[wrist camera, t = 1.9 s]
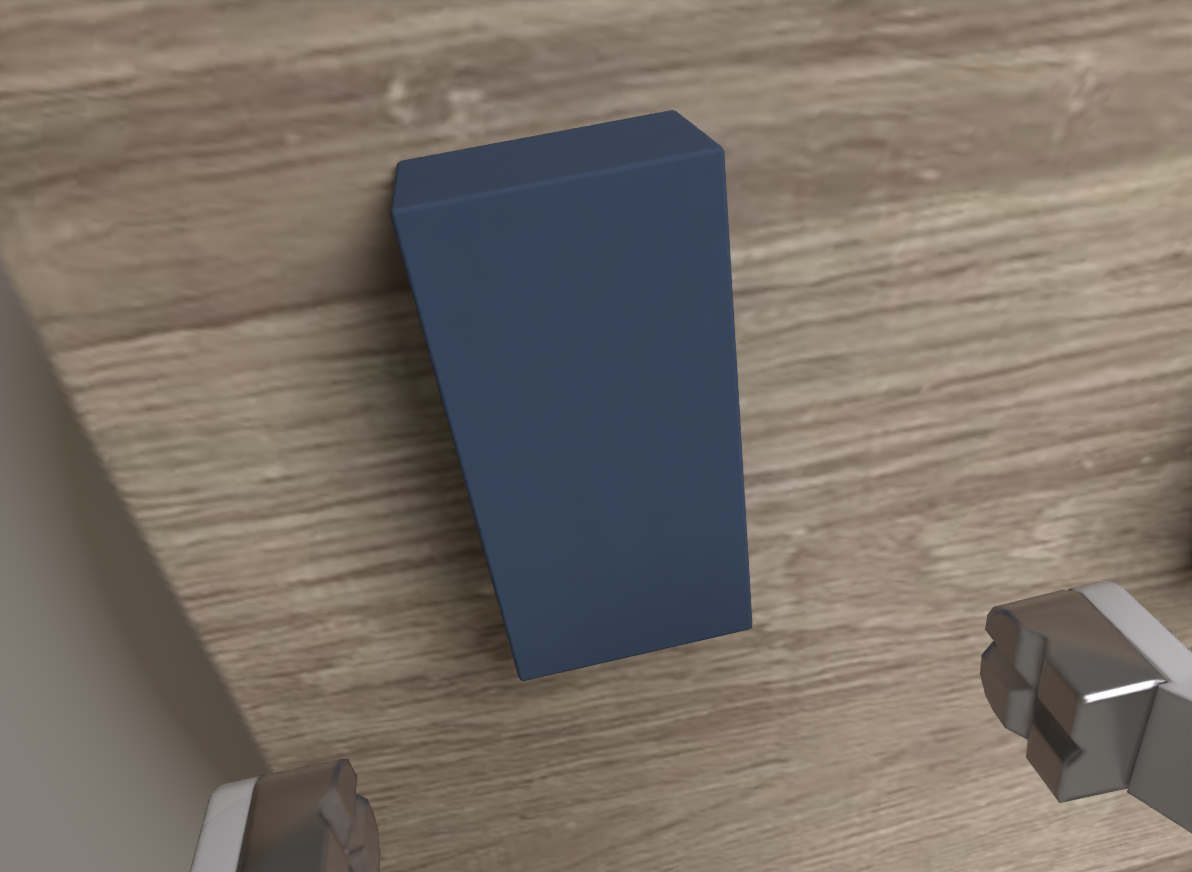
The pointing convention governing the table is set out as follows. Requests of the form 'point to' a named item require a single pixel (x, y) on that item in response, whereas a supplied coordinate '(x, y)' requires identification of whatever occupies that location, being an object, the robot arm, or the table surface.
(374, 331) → the table surface
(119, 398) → the table surface
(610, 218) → the loose pad
